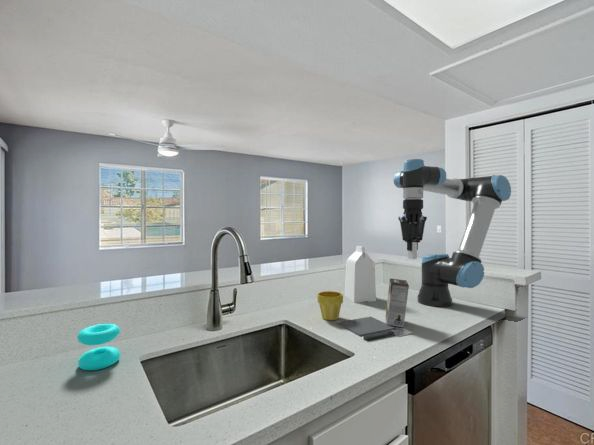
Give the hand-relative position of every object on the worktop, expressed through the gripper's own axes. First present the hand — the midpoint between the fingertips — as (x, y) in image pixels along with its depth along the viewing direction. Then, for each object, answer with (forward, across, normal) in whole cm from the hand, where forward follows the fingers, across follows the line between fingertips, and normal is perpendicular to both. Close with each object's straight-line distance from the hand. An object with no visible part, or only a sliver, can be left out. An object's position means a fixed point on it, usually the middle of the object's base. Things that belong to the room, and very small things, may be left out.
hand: (412, 258), depth 125 cm
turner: (+24, -19, -8) cm, 32 cm away
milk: (+25, +1, +35) cm, 43 cm away
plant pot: (+25, -28, +16) cm, 41 cm away
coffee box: (+24, -9, 0) cm, 26 cm away
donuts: (+25, -107, +10) cm, 110 cm away
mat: (+24, -21, +2) cm, 32 cm away
